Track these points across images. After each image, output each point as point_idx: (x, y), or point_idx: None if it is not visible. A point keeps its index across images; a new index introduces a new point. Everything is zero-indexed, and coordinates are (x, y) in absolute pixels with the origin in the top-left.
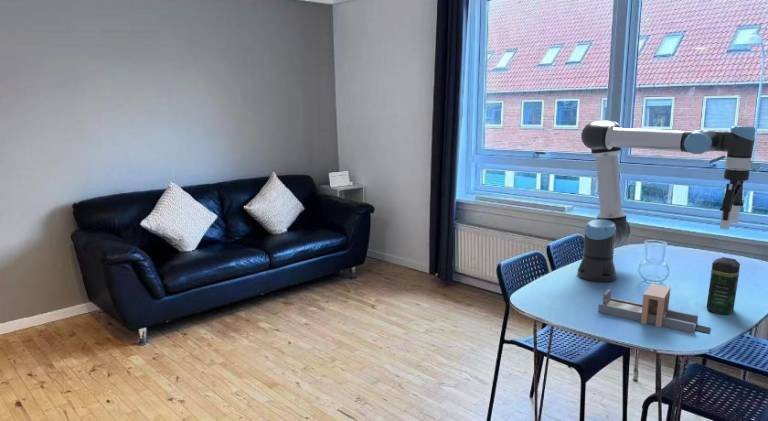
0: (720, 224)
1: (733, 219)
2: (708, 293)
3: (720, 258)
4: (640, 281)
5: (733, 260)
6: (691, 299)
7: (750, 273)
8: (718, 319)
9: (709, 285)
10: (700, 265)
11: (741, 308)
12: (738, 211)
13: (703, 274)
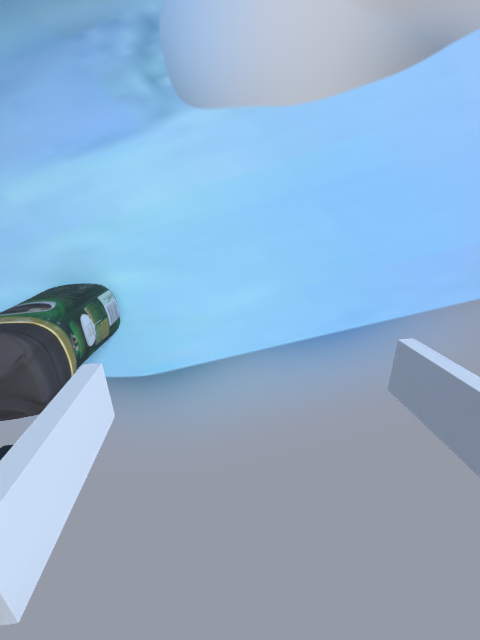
0: (66, 385)
1: (411, 379)
2: (30, 298)
3: (8, 355)
4: (138, 13)
5: (17, 403)
6: (102, 231)
7: (452, 282)
8: None
9: (20, 303)
10: (472, 144)
11: (142, 340)
12: (477, 467)
13: (373, 184)
